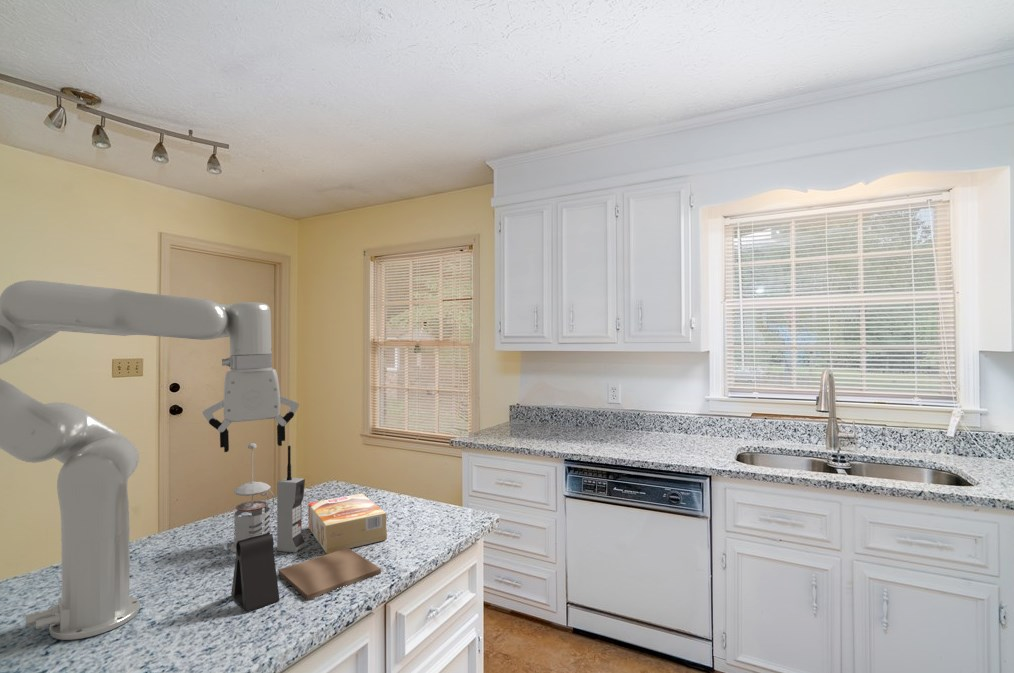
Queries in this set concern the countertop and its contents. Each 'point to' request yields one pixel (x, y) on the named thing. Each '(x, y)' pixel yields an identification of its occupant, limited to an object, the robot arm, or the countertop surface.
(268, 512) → the french press
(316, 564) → the walnut board
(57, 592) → the countertop surface
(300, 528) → the vintage mobile phone
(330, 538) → the coffeecake box
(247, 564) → the phone stand
